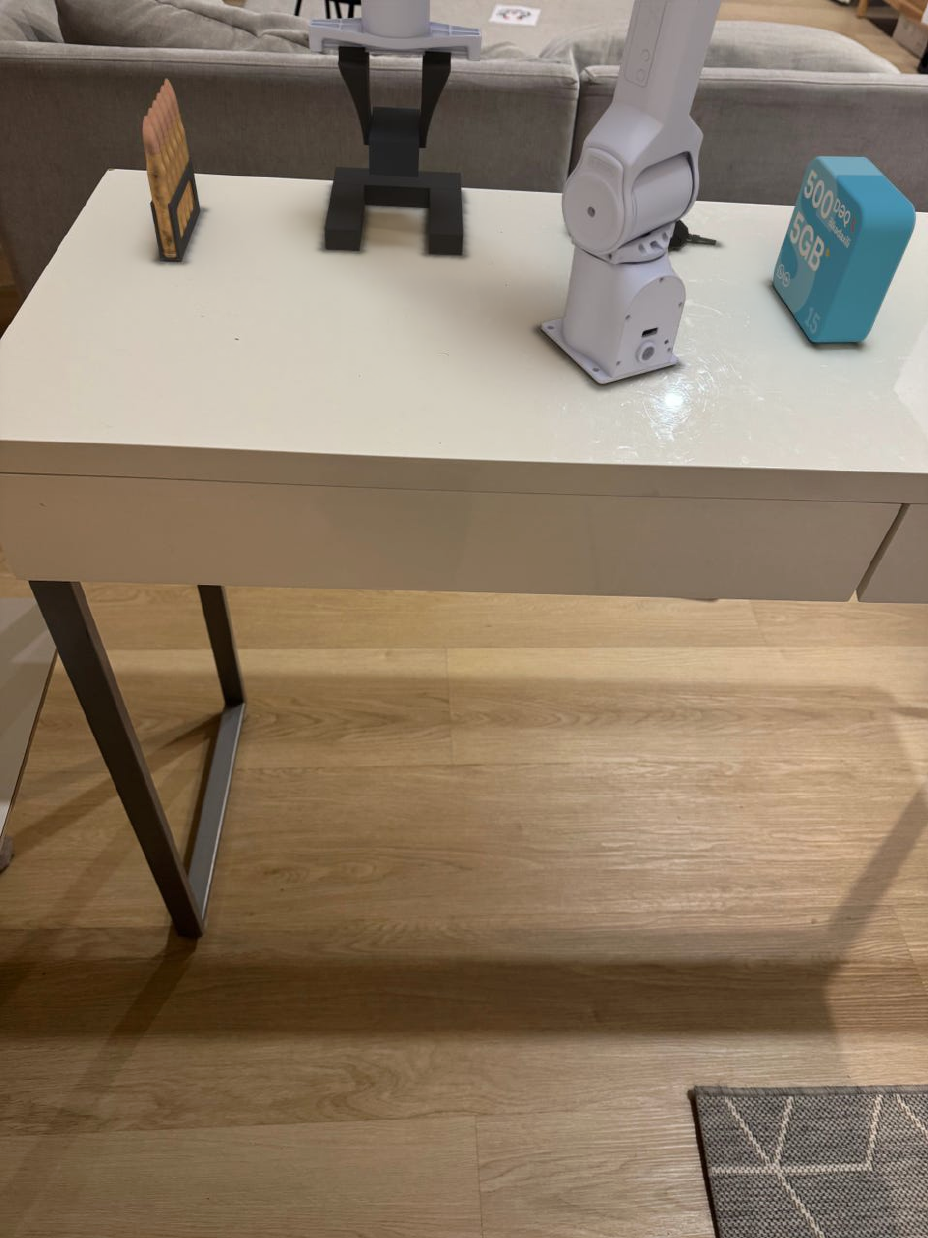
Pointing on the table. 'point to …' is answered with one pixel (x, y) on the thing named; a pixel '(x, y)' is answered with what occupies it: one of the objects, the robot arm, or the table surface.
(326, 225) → the black flat u-shaped piece
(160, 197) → the ammunition clip
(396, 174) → the black rectangular block
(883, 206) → the data package
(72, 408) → the table surface
